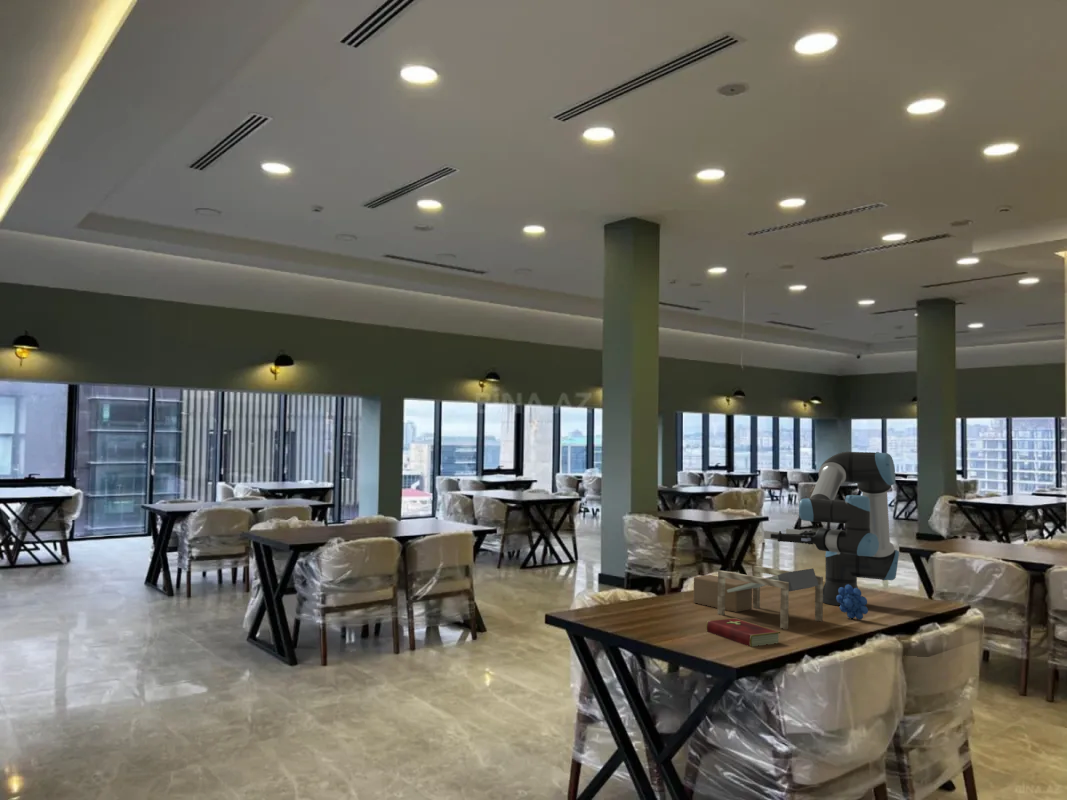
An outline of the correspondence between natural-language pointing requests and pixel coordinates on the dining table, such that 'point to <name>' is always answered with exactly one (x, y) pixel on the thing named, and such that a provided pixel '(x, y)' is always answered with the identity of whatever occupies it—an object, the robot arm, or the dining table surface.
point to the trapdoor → (788, 580)
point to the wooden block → (733, 600)
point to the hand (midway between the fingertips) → (775, 533)
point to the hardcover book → (742, 631)
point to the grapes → (852, 602)
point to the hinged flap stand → (769, 582)
